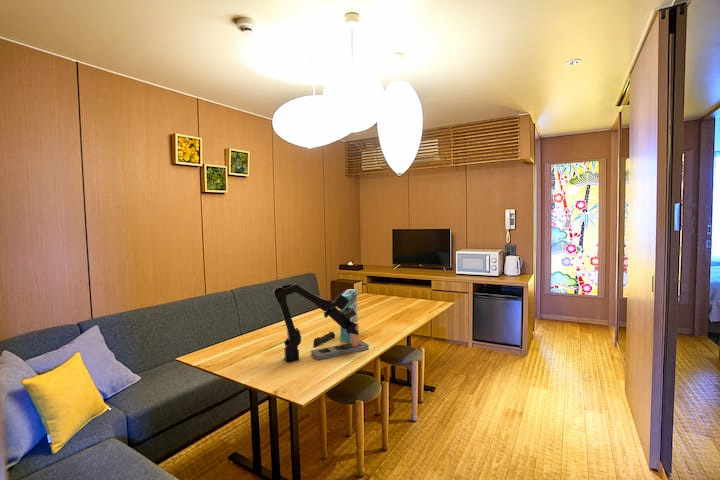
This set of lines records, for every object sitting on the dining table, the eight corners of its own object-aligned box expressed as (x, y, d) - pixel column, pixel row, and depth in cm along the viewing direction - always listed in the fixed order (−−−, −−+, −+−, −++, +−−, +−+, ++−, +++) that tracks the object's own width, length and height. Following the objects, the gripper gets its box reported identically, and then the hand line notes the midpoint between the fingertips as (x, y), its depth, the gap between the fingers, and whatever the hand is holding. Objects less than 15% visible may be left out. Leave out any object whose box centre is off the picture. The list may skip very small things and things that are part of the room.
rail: (317, 360, 194) (316, 355, 194) (311, 355, 202) (311, 350, 202) (368, 349, 207) (368, 345, 207) (361, 344, 215) (361, 340, 215)
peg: (353, 347, 206) (352, 324, 205) (351, 345, 209) (350, 322, 208) (359, 346, 207) (358, 323, 206) (357, 344, 211) (356, 321, 210)
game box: (351, 341, 221) (349, 296, 219) (340, 341, 222) (338, 296, 220) (358, 331, 241) (356, 289, 239) (348, 330, 242) (347, 288, 240)
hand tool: (329, 337, 231) (329, 330, 230) (335, 338, 229) (334, 330, 228) (309, 347, 215) (309, 339, 214) (315, 348, 213) (315, 340, 212)
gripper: (352, 308, 197) (372, 326, 201) (341, 300, 214) (360, 317, 219) (338, 324, 194) (359, 342, 199) (328, 316, 212) (348, 332, 216)
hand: (356, 333), depth 208 cm, fingers closed on peg, 3 cm apart
